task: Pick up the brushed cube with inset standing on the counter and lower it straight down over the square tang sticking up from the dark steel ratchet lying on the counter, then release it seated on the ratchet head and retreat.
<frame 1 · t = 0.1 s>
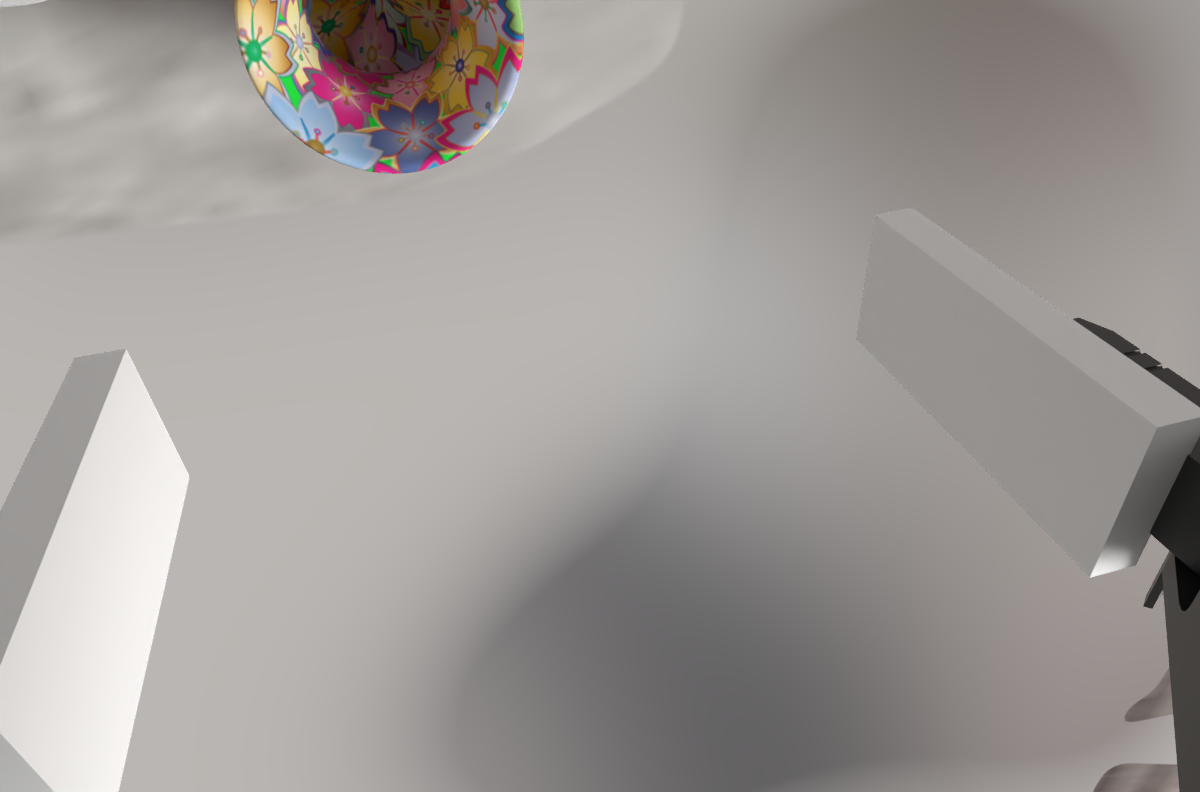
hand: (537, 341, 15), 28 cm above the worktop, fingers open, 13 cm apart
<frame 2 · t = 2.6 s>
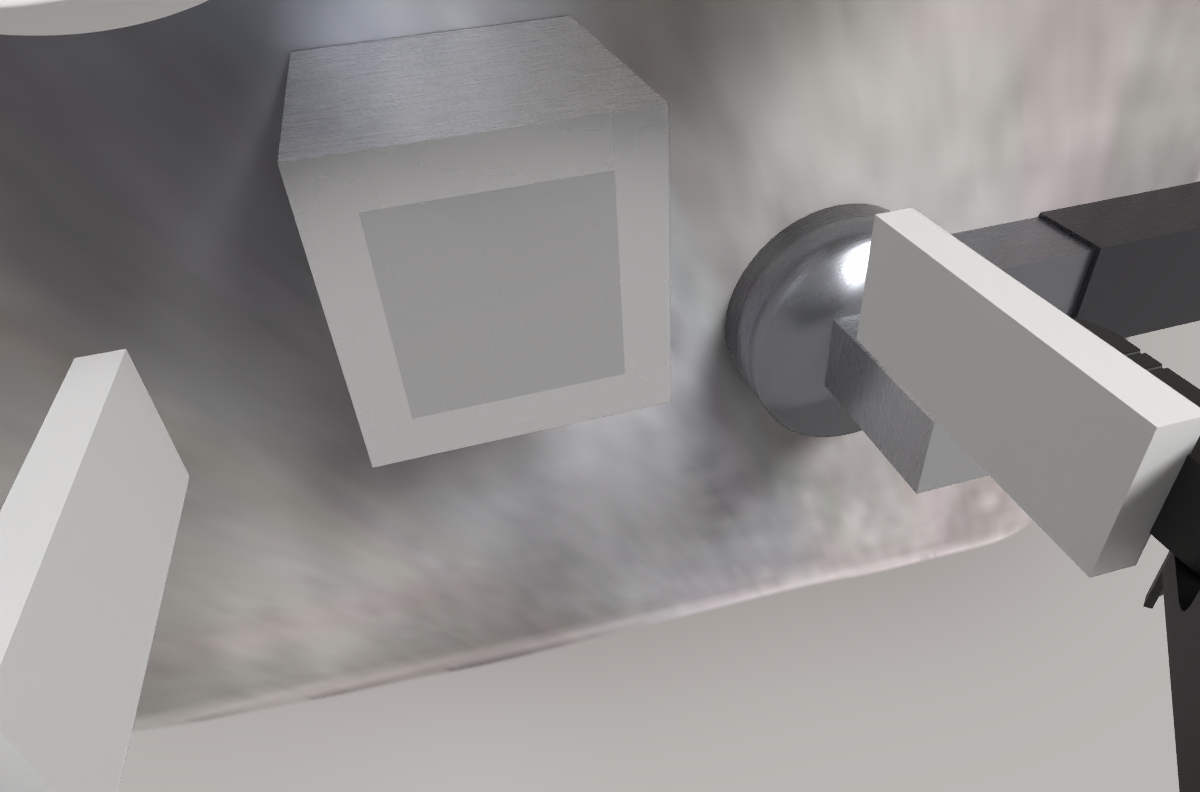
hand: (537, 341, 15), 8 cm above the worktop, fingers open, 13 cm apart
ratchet: (825, 305, 26), on the worktop
brushed cube with inset: (457, 167, 20), on the worktop
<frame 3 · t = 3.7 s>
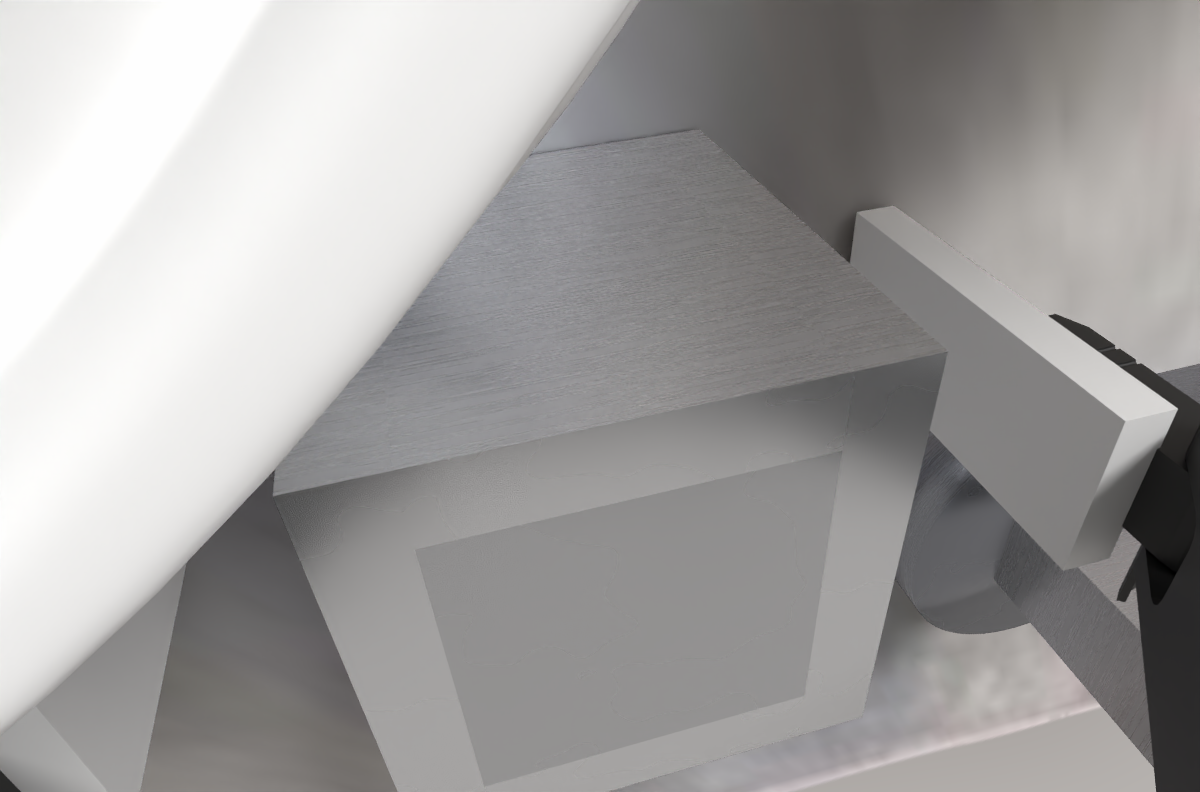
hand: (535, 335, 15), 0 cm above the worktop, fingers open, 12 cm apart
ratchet: (983, 463, 21), on the worktop
brushed cube with inset: (531, 329, 15), on the worktop
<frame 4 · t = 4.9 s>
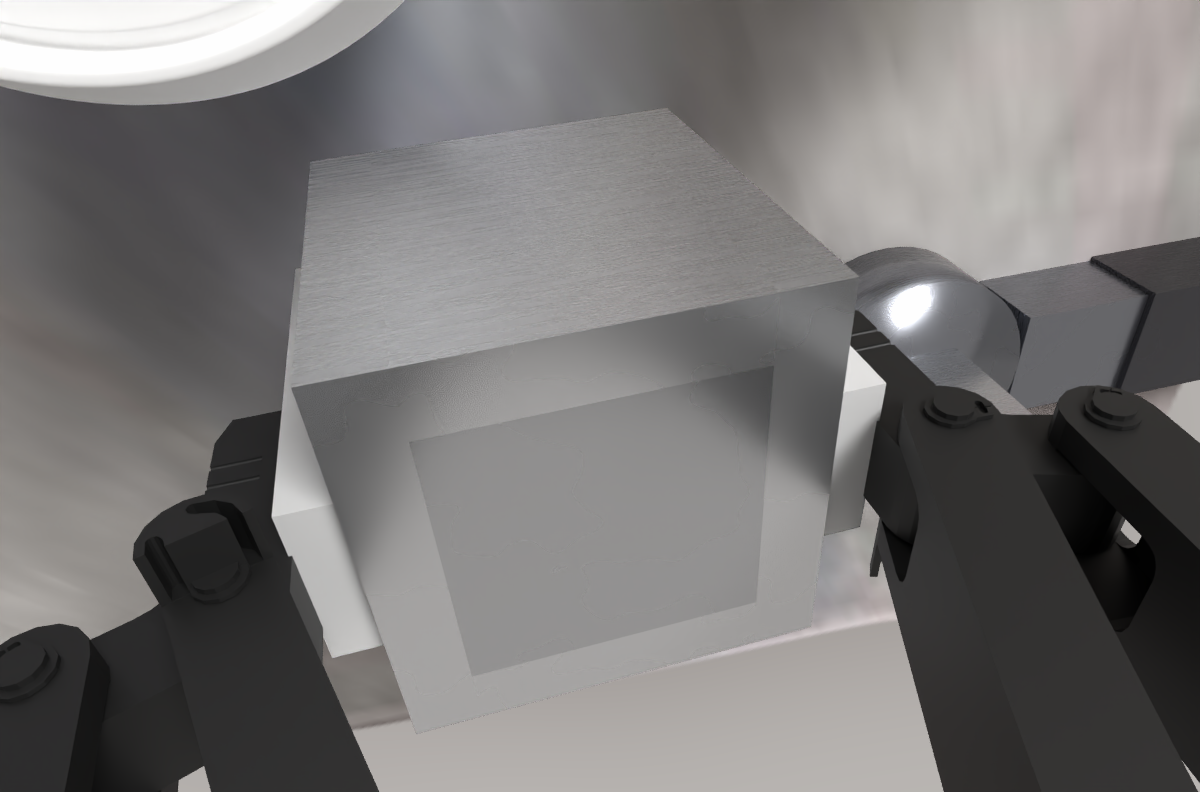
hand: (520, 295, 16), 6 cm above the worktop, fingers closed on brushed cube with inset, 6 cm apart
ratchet: (871, 346, 26), on the worktop
brushed cube with inset: (518, 292, 16), point 5 cm above the worktop, touching gripper
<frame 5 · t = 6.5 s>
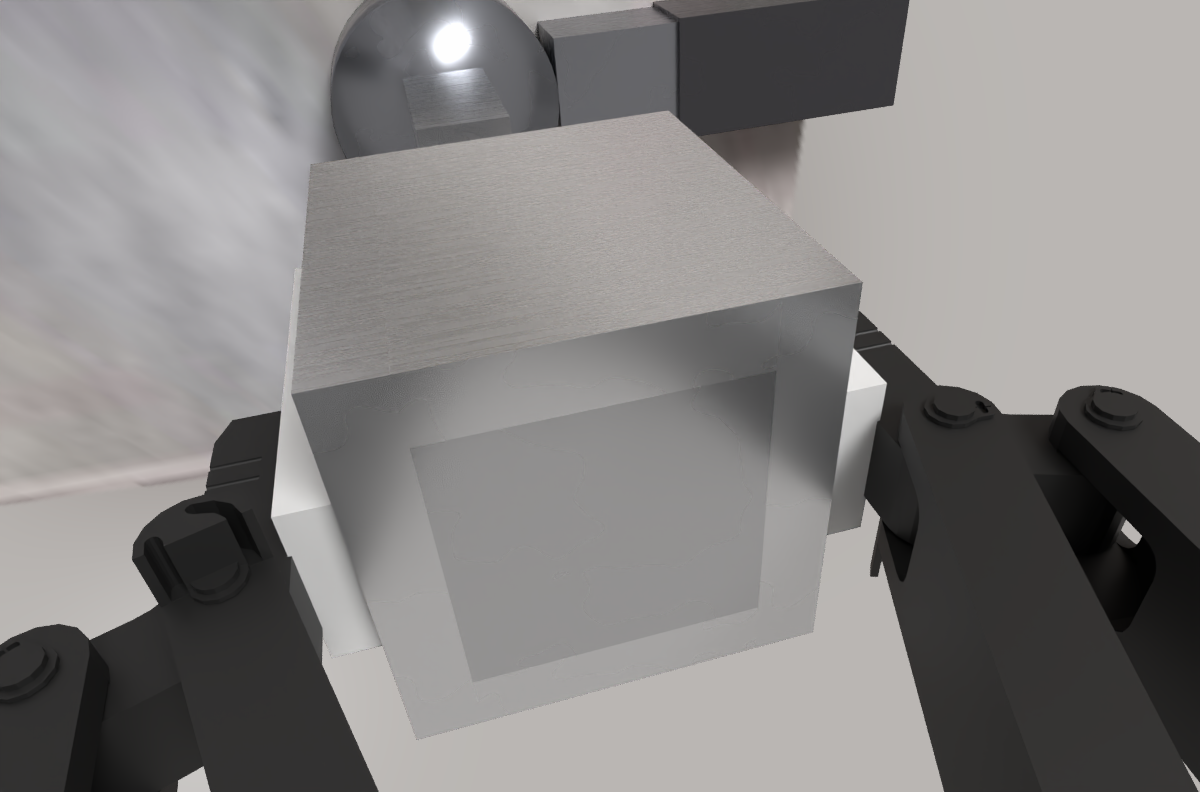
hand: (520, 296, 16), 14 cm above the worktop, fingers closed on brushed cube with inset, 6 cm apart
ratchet: (441, 90, 27), on the worktop
brushed cube with inset: (518, 295, 16), point 14 cm above the worktop, touching gripper
when the fingers open (3 cm above the worktop, at t = 8.4 s): brushed cube with inset stays where it is, resting on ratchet.
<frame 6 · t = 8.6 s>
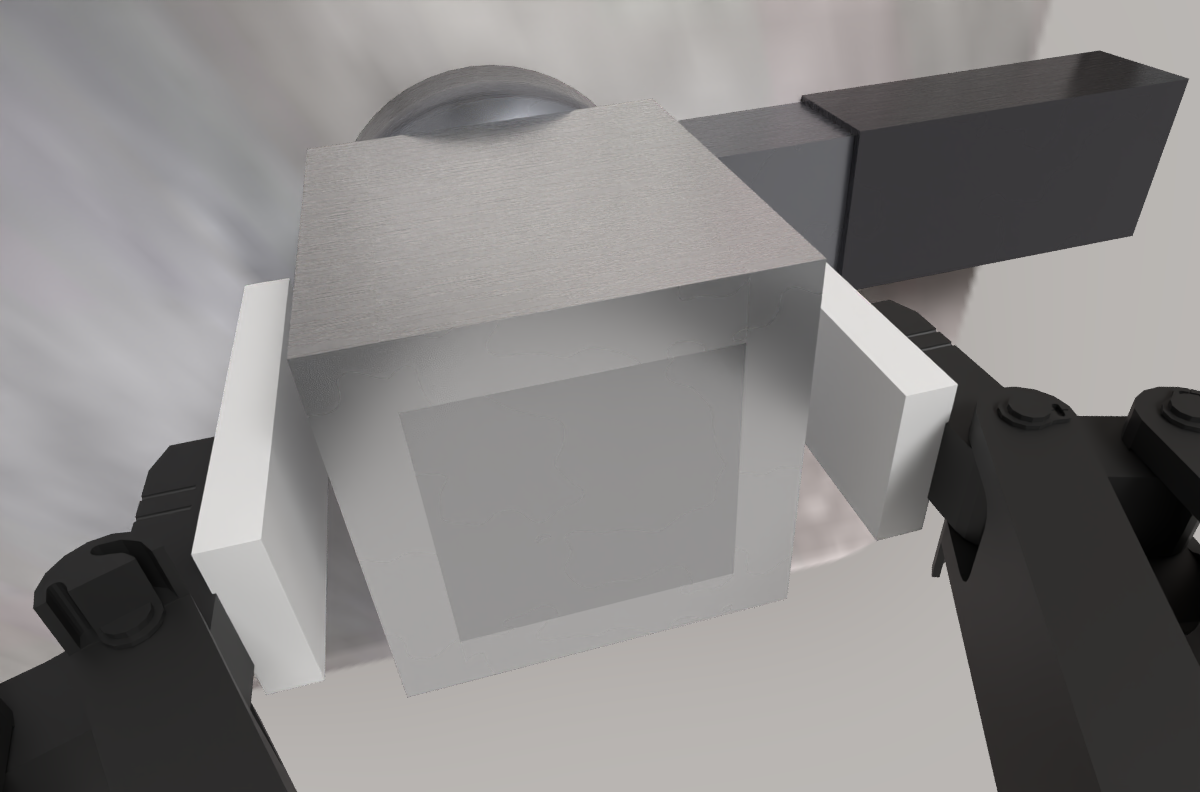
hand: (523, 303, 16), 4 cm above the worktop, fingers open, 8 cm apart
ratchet: (494, 224, 19), on the worktop, touching brushed cube with inset
brushed cube with inset: (508, 277, 17), point 2 cm above the worktop, touching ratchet
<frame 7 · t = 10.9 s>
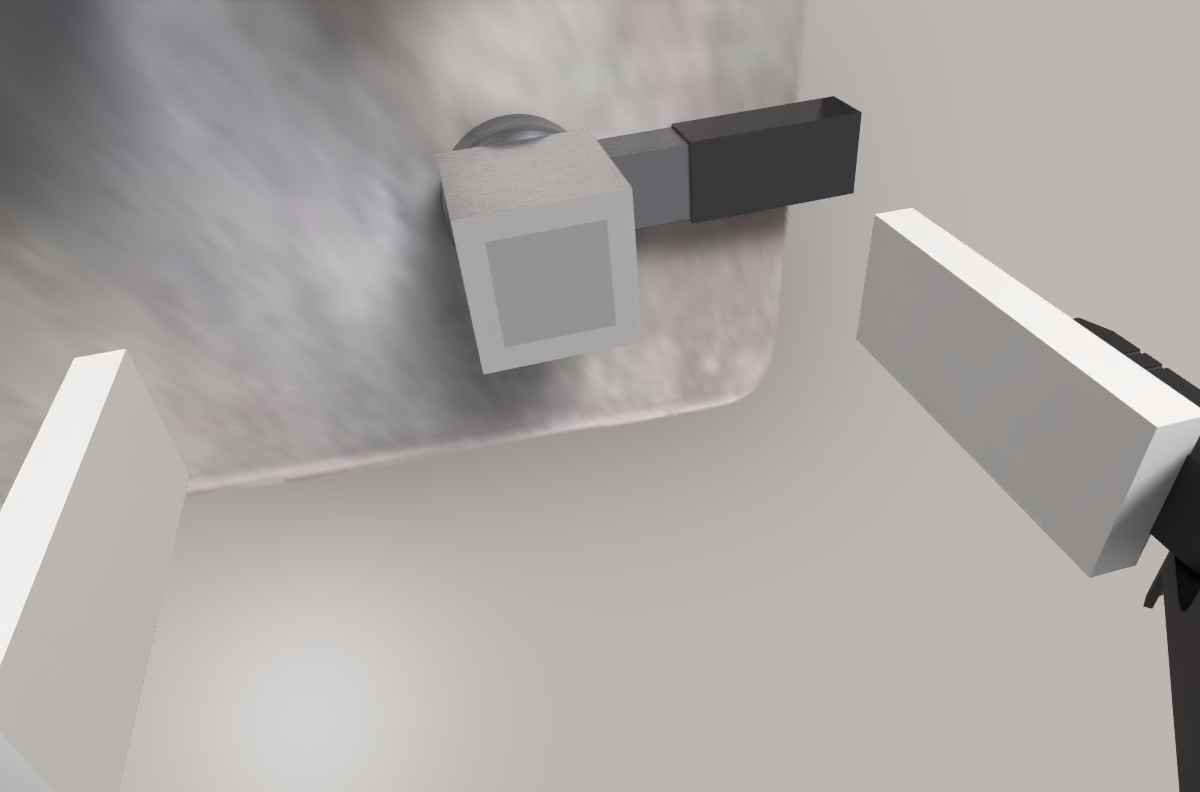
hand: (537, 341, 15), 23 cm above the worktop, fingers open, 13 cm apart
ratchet: (518, 191, 37), on the worktop, touching brushed cube with inset
brushed cube with inset: (524, 213, 35), point 2 cm above the worktop, touching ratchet
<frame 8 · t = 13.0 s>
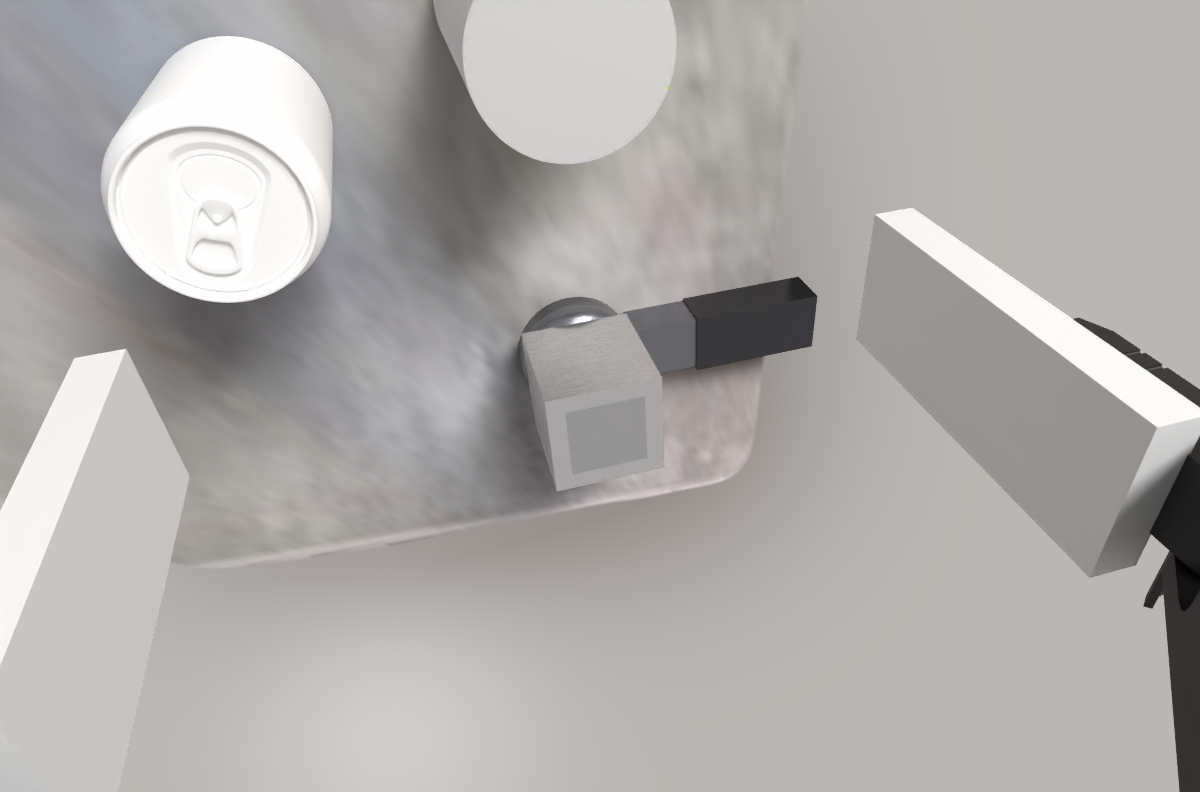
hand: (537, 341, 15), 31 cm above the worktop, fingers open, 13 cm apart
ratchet: (572, 345, 52), on the worktop, touching brushed cube with inset
brushed cube with inset: (578, 367, 50), point 2 cm above the worktop, touching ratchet
beverage can: (246, 120, 40), on the worktop
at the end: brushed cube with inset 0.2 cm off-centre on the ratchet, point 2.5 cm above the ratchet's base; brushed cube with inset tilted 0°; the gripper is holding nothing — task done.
